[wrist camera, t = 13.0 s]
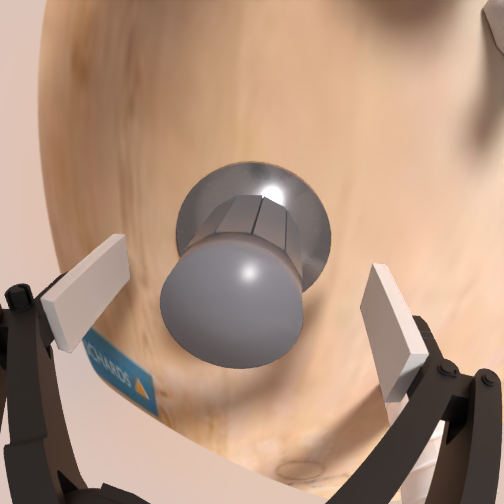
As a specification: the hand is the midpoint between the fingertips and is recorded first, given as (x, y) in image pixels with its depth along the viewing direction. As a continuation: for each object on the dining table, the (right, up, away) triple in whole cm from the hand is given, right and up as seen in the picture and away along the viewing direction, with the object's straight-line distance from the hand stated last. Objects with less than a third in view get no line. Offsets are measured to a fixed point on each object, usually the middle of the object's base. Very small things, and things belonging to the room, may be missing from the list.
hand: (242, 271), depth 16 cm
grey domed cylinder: (0, +2, +4) cm, 4 cm away
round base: (+1, +2, +4) cm, 5 cm away
